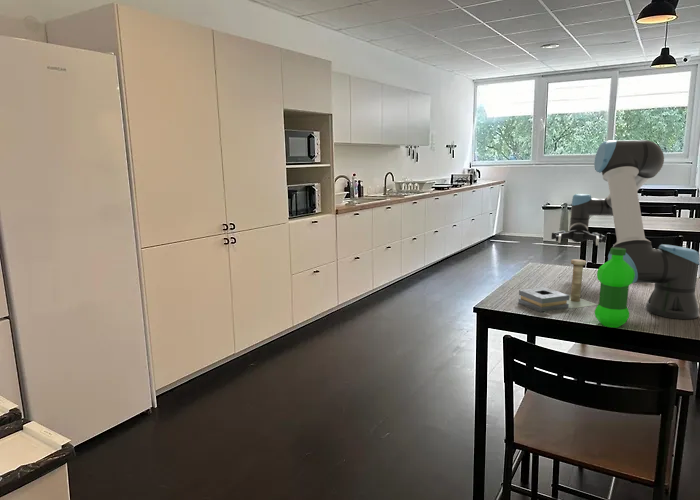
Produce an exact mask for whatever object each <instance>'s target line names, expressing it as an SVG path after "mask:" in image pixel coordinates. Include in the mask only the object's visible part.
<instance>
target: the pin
mask: <svg viewBox="0 0 700 500" xmlns="http://www.w3.org/2000/svg"><path fill="white" fill-rule="evenodd" d="M570 264H571V265H573V267H572V279H571V288H570V289H571V290H570V295H571V301H574V302H579V301H580V298H581V292H582V282H583V281H582V279H583V272H584V271H583V270H584V266H586V265H587V260H583V259H570Z"/></svg>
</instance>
